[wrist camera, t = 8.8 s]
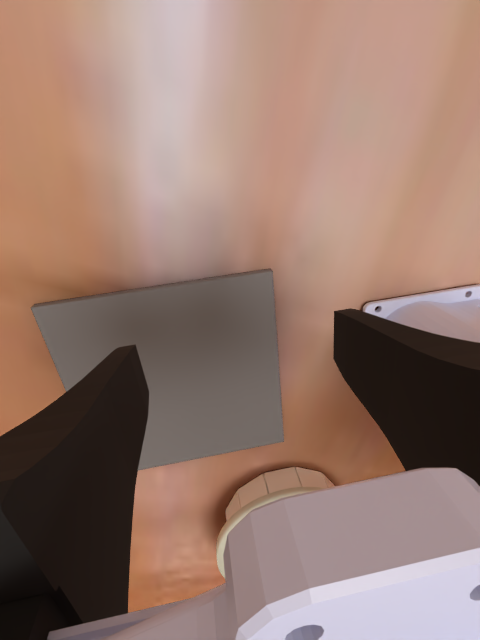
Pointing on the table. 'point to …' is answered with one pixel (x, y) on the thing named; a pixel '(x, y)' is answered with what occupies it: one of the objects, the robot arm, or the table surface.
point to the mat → (183, 359)
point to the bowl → (276, 485)
